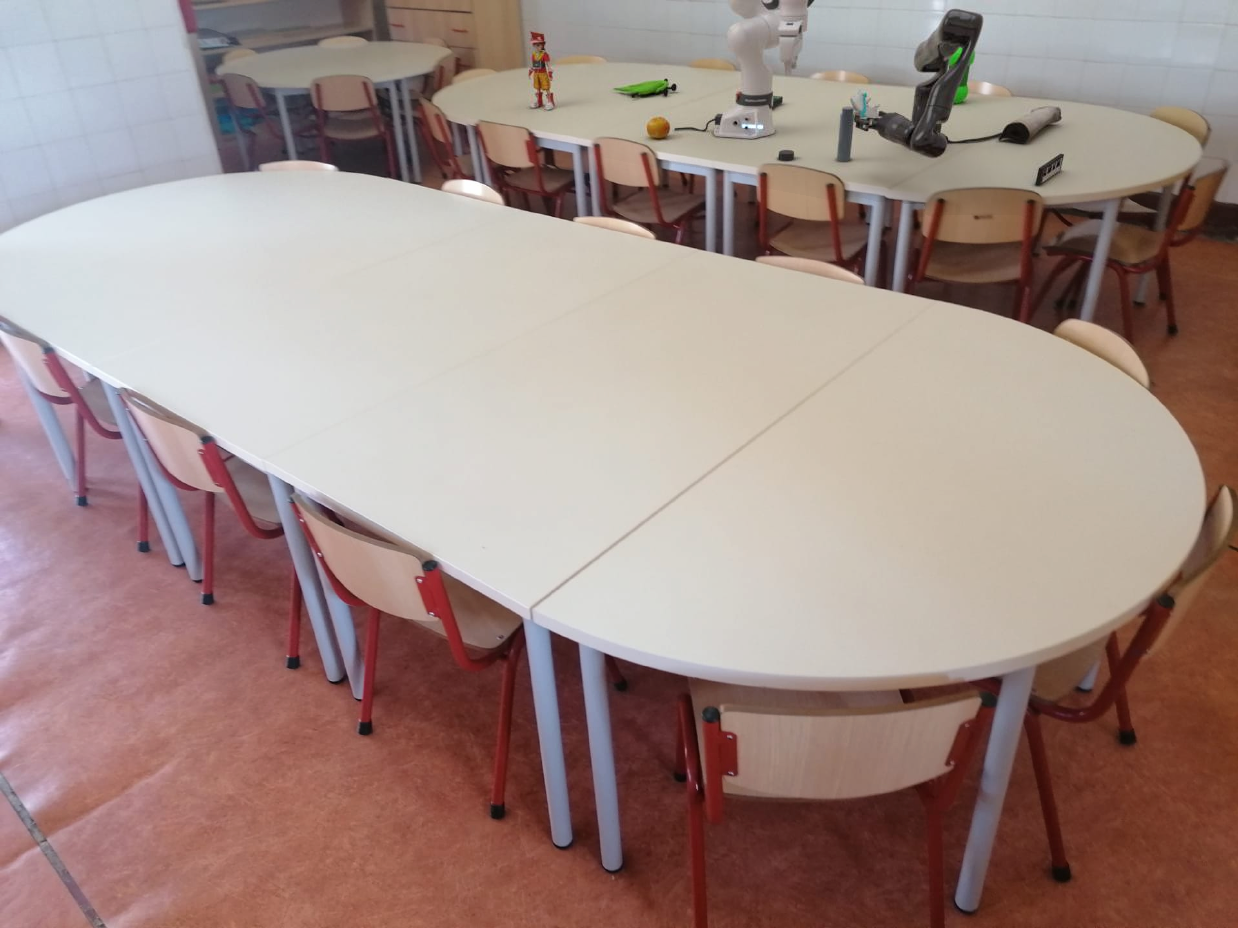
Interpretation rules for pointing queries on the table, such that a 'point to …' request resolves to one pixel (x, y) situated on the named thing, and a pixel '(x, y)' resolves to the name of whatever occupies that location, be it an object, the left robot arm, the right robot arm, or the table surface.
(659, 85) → the toy
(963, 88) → the plastic bottle
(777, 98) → the disk drive
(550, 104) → the toy
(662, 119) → the fruit
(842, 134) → the jar
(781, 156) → the lid
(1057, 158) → the midi keyboard
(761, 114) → the left robot arm
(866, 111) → the anatomical model
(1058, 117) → the rolled mat
